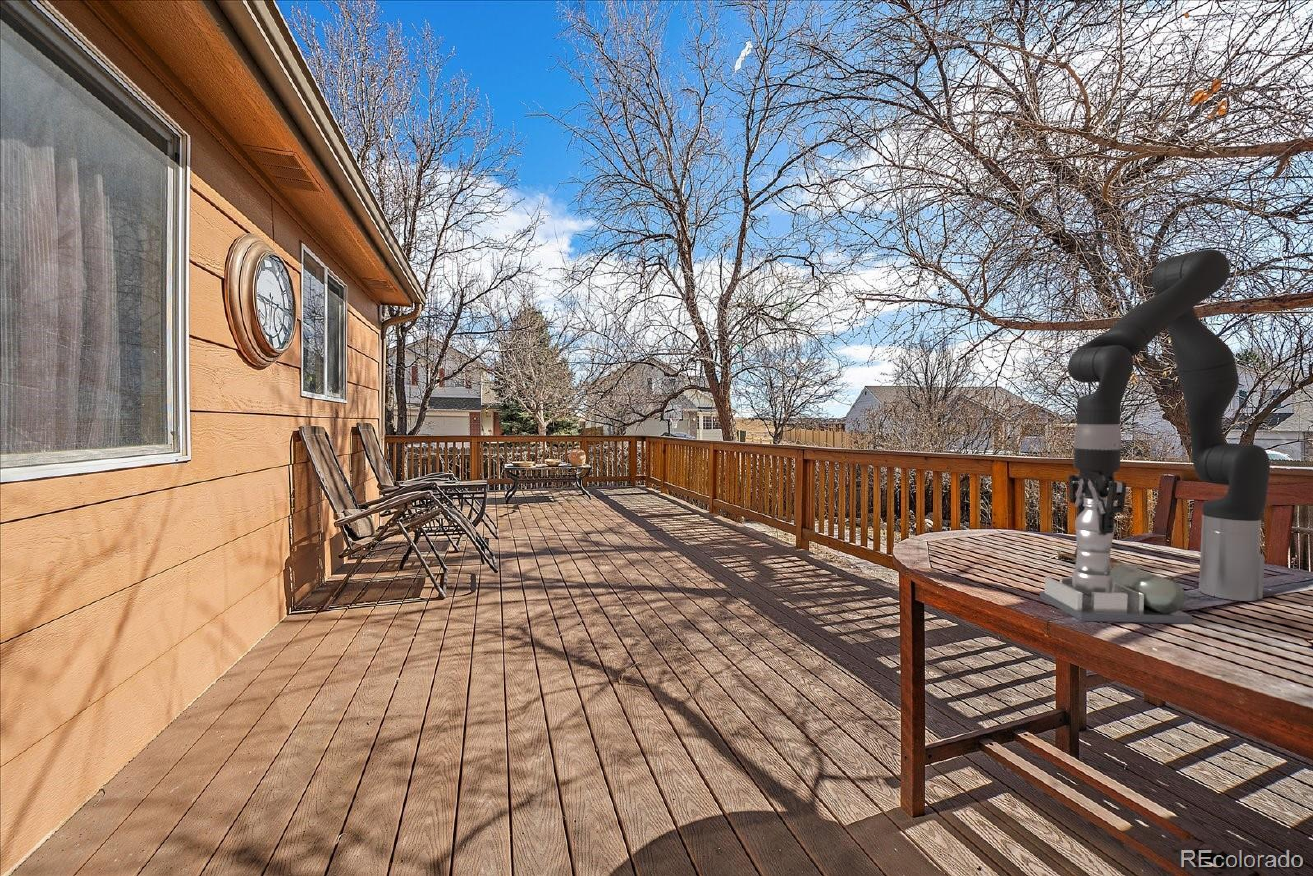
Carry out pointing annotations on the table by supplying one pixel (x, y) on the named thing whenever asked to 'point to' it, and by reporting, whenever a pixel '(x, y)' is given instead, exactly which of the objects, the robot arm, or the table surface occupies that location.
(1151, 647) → the table surface
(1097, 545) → the plastic bottle
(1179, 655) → the table surface
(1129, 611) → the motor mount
